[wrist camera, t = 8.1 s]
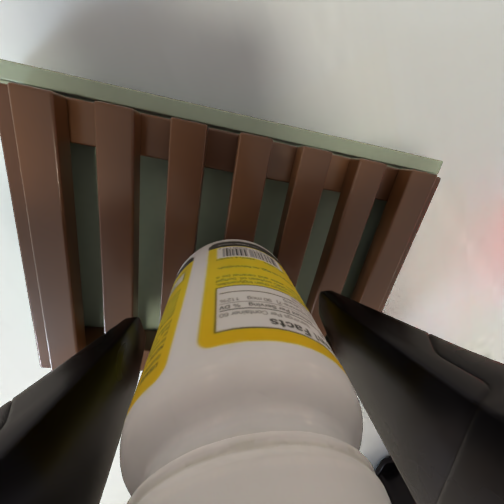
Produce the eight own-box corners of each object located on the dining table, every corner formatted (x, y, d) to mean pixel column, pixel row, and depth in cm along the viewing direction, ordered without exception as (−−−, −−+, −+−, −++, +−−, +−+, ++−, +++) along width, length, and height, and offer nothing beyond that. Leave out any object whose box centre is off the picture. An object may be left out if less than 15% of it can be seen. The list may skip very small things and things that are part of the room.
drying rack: (414, 175, 12) (459, 179, 10) (340, 357, 16) (359, 389, 14) (27, 92, 9) (-37, 71, 7) (59, 344, 13) (27, 382, 11)
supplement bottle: (211, 347, 11) (189, 763, 4) (152, 269, 9) (-156, 774, 2) (301, 304, 11) (494, 653, 3) (258, 215, 9) (463, 527, 1)
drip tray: (424, 160, 12) (443, 161, 11) (342, 360, 17) (350, 374, 16) (15, 68, 9) (-14, 55, 8) (54, 346, 14) (39, 363, 13)
